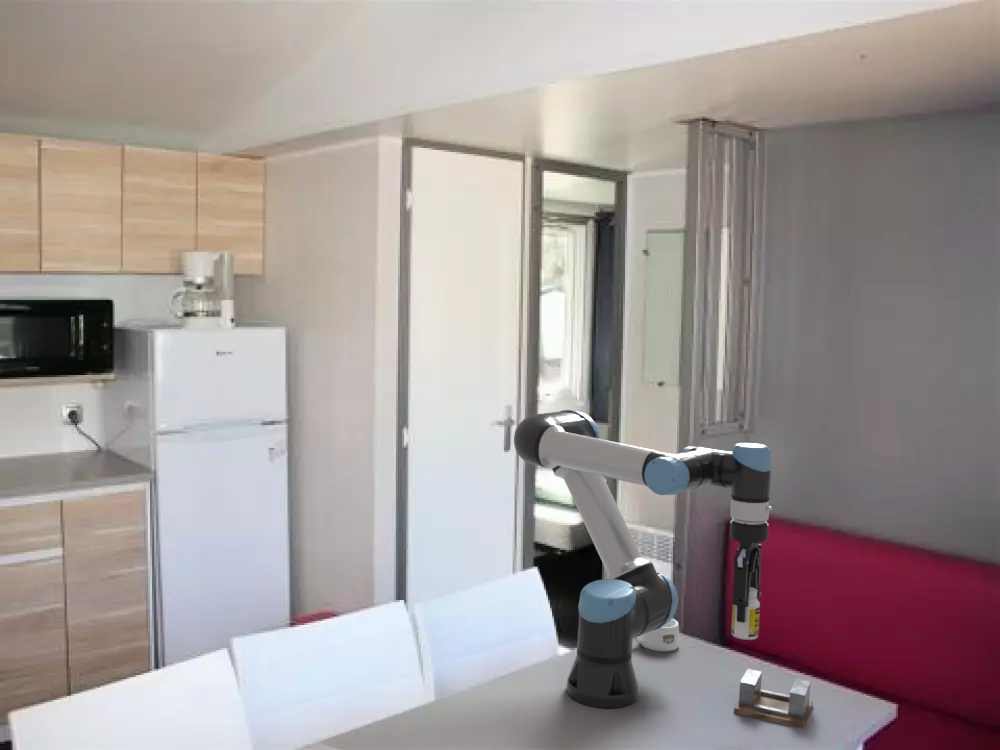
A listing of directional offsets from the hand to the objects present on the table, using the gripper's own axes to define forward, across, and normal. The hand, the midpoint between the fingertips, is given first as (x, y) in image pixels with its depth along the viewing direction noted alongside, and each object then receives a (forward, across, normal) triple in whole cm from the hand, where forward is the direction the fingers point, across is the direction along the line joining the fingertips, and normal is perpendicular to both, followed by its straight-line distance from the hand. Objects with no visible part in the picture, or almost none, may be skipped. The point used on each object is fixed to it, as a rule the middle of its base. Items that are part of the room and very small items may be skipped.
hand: (745, 631), depth 199 cm
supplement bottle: (+1, 0, 0) cm, 1 cm away
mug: (+17, +27, +28) cm, 42 cm away
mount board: (+18, +6, -5) cm, 19 cm away
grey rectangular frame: (+18, +6, -5) cm, 19 cm away
